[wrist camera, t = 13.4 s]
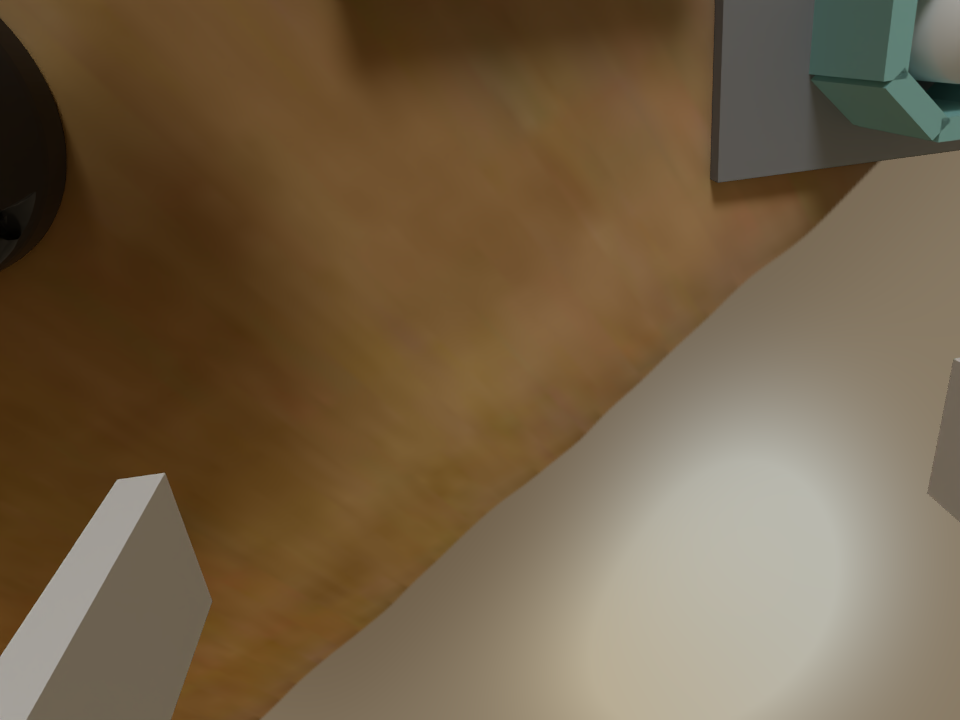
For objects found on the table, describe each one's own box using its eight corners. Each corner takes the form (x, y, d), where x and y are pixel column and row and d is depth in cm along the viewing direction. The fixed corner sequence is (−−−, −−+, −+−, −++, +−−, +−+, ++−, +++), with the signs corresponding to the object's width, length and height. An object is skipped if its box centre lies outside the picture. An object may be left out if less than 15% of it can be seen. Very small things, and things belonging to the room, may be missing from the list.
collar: (804, 133, 36) (874, 151, 30) (820, -73, 32) (905, -96, 26) (975, 110, 36) (1076, 123, 30) (1012, -97, 32) (1135, -124, 27)
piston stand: (710, 178, 37) (766, 206, 31) (718, -112, 32) (788, -146, 26) (1037, 135, 38) (1153, 153, 32) (1102, -159, 32) (1257, -202, 26)
